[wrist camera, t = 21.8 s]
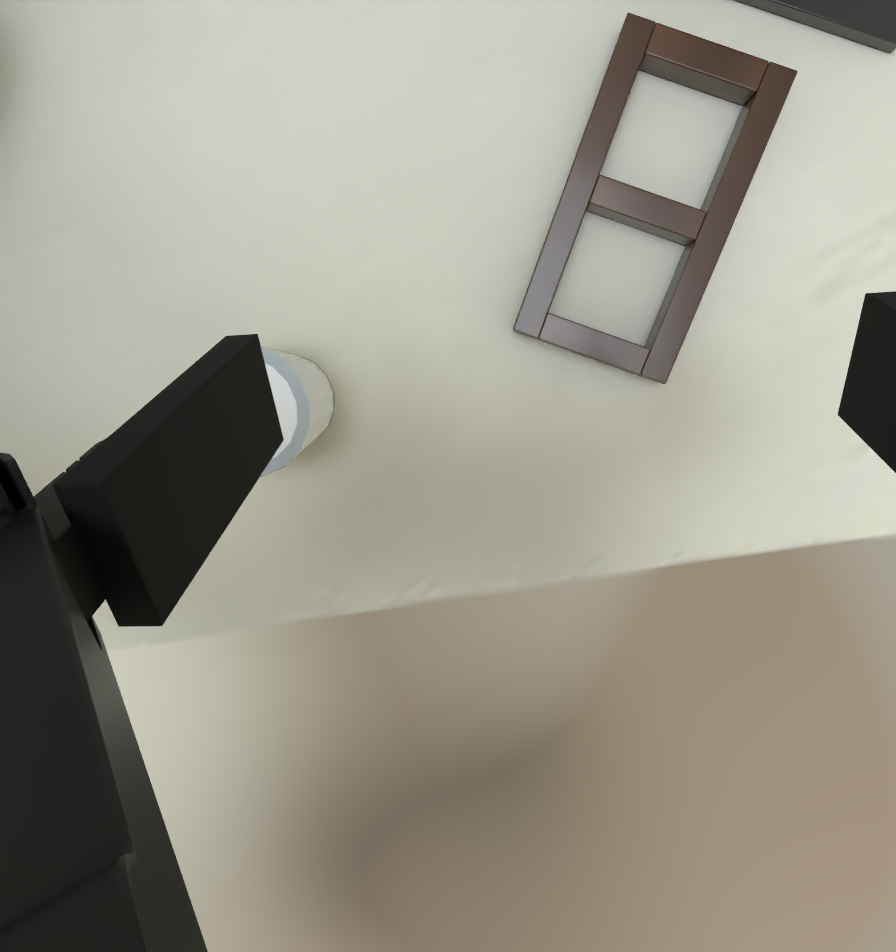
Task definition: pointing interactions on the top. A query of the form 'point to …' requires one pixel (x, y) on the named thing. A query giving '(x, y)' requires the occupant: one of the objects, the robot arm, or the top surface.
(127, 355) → the top surface
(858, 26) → the hob plate
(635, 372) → the frame
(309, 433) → the white short cylinder
